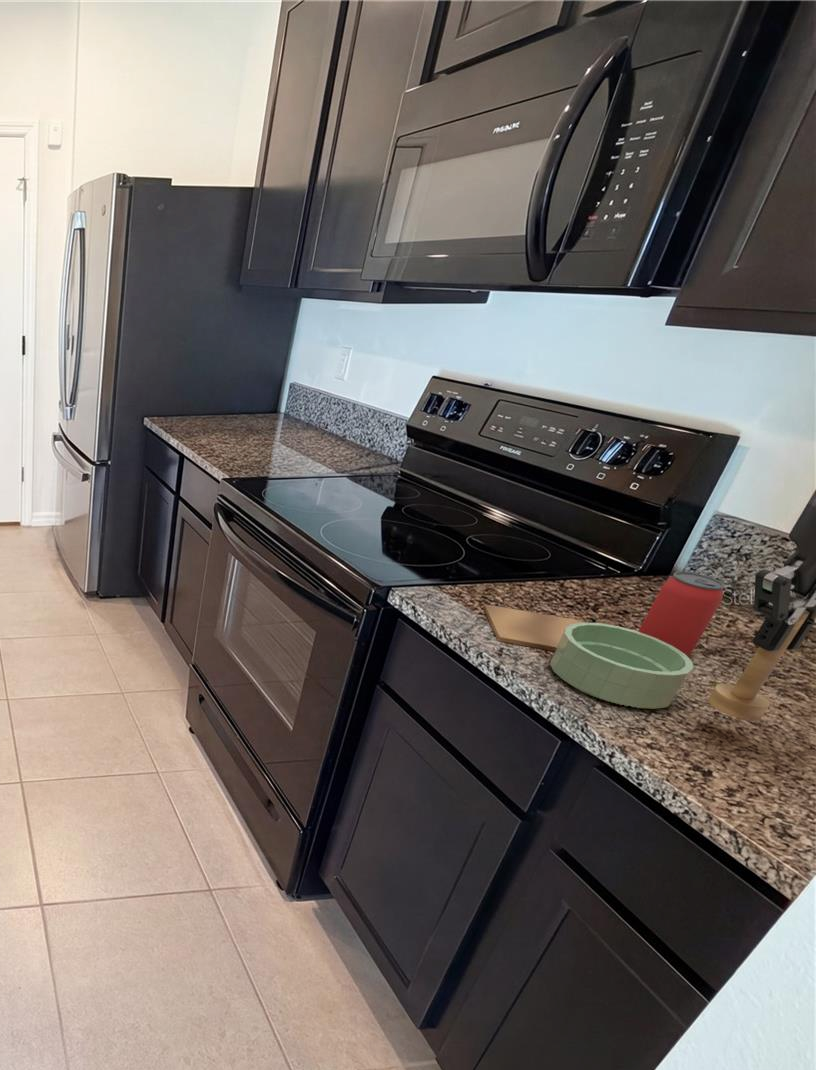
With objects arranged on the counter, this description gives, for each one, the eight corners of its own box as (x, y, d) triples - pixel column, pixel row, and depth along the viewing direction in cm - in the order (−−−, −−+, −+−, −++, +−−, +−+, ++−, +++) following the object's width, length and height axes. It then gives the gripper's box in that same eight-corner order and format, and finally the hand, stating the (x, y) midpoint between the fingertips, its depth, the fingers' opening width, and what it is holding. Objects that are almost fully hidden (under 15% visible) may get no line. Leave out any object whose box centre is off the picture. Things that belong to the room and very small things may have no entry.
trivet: (581, 625, 107) (583, 620, 107) (607, 661, 97) (609, 656, 97) (482, 608, 112) (484, 604, 112) (497, 641, 102) (499, 636, 102)
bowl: (647, 669, 96) (667, 634, 93) (690, 722, 84) (714, 684, 82) (537, 649, 100) (553, 615, 97) (564, 697, 89) (582, 660, 86)
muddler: (748, 702, 82) (812, 604, 76) (770, 724, 78) (838, 623, 72) (700, 693, 84) (758, 597, 77) (718, 714, 80) (781, 615, 73)
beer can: (681, 665, 97) (722, 593, 91) (626, 645, 102) (662, 576, 96) (695, 652, 100) (736, 582, 95) (641, 633, 105) (677, 566, 99)
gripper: (851, 522, 65) (758, 668, 73) (966, 517, 66) (863, 660, 74) (765, 498, 71) (689, 634, 79) (872, 494, 73) (786, 627, 81)
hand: (773, 646), depth 77 cm, fingers closed on muddler
